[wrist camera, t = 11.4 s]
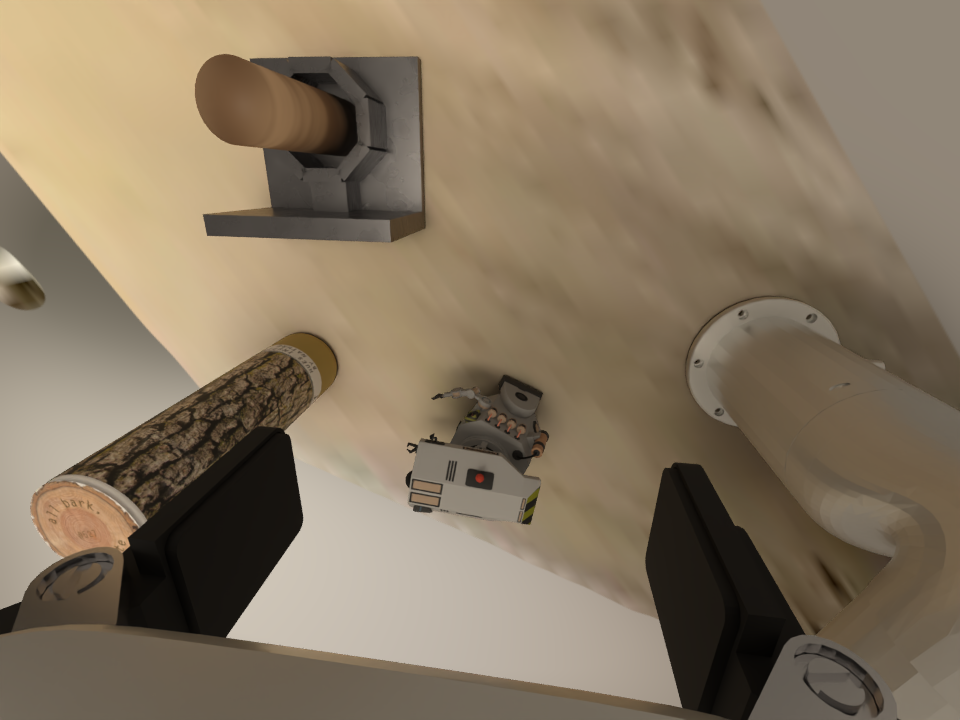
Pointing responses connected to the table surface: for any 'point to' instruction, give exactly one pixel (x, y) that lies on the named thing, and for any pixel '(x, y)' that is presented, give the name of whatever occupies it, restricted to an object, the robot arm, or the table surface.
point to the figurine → (483, 459)
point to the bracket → (346, 160)
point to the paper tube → (178, 447)
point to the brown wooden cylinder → (272, 109)
